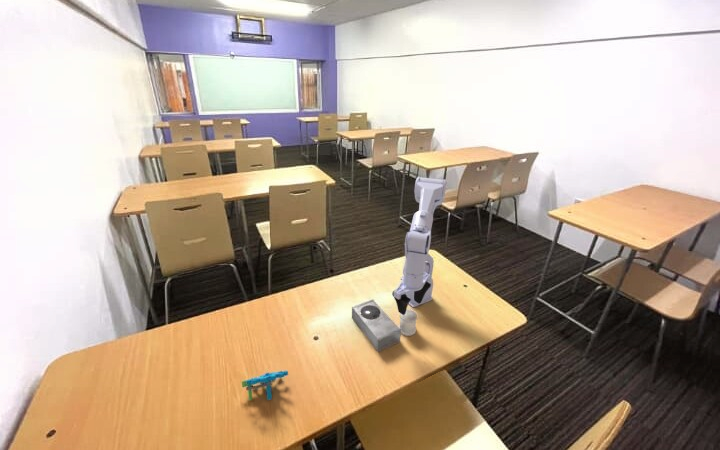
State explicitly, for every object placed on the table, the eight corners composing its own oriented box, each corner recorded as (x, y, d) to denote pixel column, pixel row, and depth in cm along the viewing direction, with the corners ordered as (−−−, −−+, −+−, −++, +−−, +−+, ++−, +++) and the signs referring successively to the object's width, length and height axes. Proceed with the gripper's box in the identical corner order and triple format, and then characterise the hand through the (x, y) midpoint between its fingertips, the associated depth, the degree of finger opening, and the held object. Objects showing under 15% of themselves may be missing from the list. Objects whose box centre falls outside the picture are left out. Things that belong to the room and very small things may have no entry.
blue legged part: (290, 366, 80) (283, 371, 71) (293, 390, 78) (286, 399, 69) (248, 375, 79) (235, 381, 70) (250, 400, 77) (237, 410, 68)
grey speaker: (372, 309, 104) (373, 299, 102) (400, 341, 91) (401, 330, 89) (351, 317, 100) (351, 306, 98) (377, 351, 87) (378, 340, 85)
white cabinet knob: (408, 320, 99) (410, 306, 97) (419, 332, 95) (421, 317, 92) (394, 326, 97) (396, 312, 94) (405, 338, 92) (407, 323, 90)
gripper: (418, 255, 93) (414, 291, 99) (386, 273, 84) (383, 310, 90) (437, 265, 89) (431, 302, 94) (406, 284, 80) (401, 323, 85)
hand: (409, 307), depth 92 cm, fingers open, 7 cm apart
